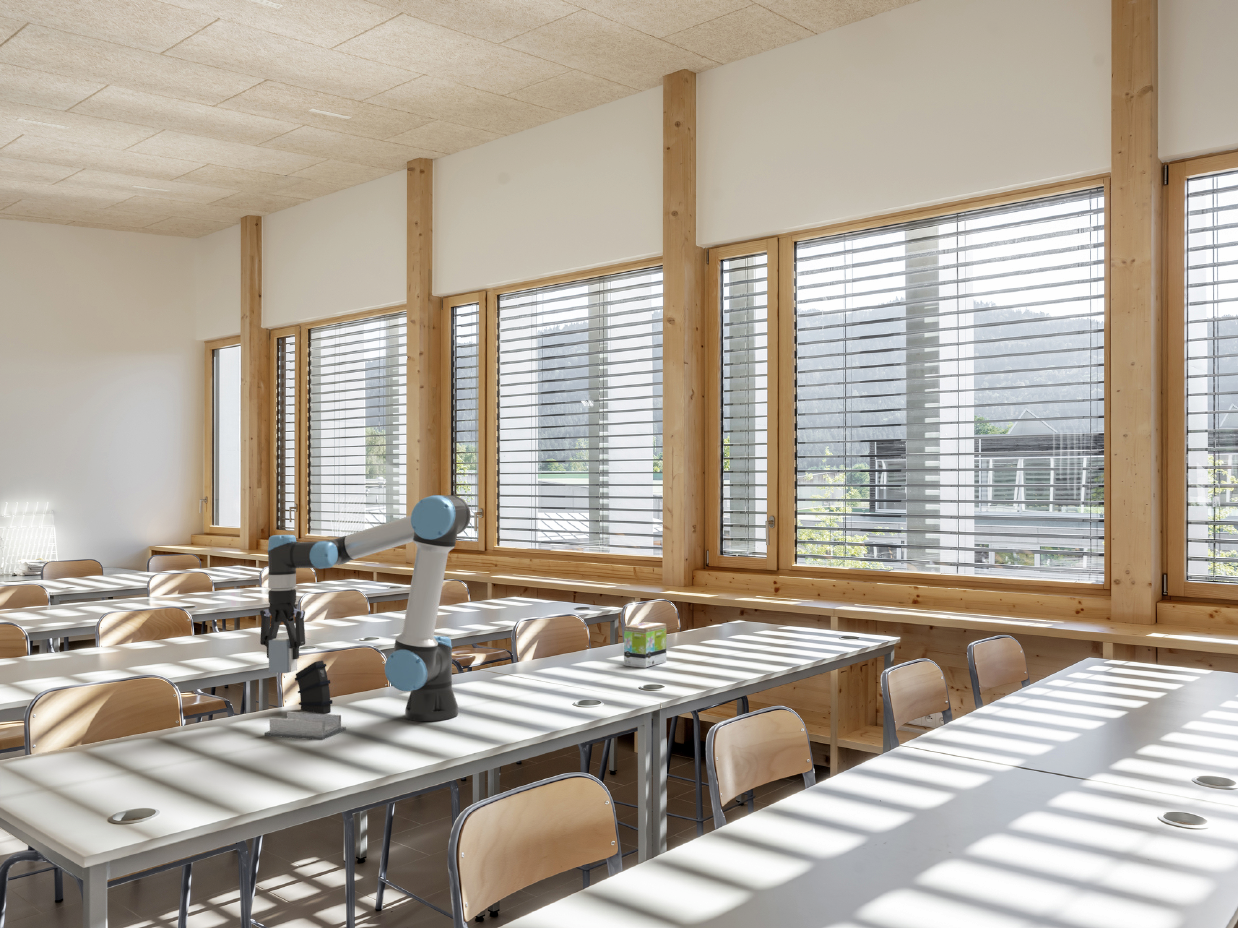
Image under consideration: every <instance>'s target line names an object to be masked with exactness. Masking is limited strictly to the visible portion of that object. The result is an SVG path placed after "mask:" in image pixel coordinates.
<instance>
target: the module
mask: <svg viewBox="0 0 1238 928" xmlns="http://www.w3.org/2000/svg"><path fill="white" fill-rule="evenodd" d="M290 647H291V644H290V640H289V637H276V638H275V639H273V640H269V658H268V672H269V673H275V674H276V673H277V674H288V673H289V674H290V672H289V648H290ZM295 671H297V670H295ZM295 671H292V672H291V673H293V672H295Z"/></svg>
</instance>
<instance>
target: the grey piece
mask: <svg viewBox="0 0 1238 928" xmlns="http://www.w3.org/2000/svg"><path fill="white" fill-rule="evenodd" d="M346 730H347V727H346V726H342V715H341V714H332V713H326V714H319V713H314V712H300V711H299V712H298V711H287V712H286V718H280V717H278V718H277V717H270V718H269V731H265V732H264V735H266V736H265V737H275V736H282V737H281V738H289V737H292V738H291V739H302V738H309V739H308V740H315V741H316V740H317V741H323V740H325V738H326V739H328V738H330V737H333V736H335V735H338V734H340V733H341V732H344V731H346Z"/></svg>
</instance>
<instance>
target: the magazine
mask: <svg viewBox="0 0 1238 928" xmlns="http://www.w3.org/2000/svg"><path fill="white" fill-rule="evenodd" d="M326 667H327V663H324V660H319V661H318V660H317V661H314V662H312V663H311V664H309V665H308V666H306V667H304V668H303V669H301V670H299V671H298V672H296V673H295V676H296V677H295V678H294V681H295V682H297V684H298V688H299V689H298V691H297V694H299V695H300V696H299V698H300V702H298V705H299V706H300V710H301V711H304V710H305V711H306V712H308V713H317V714H331V712H332V709H331V706H332V704H333V700H332V699H331V691H330V685H329V684H331V680H330V679H328V678H329V677H328V674H327V670H326Z"/></svg>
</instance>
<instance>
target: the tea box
mask: <svg viewBox="0 0 1238 928" xmlns="http://www.w3.org/2000/svg"><path fill="white" fill-rule="evenodd" d="M623 630H624V631H623V632H624V634H623V643H624V644H623V666H626V667H633V668H643V669H644V668H645V669H647V667H651V666H655V665H656V666H657V665H658V664H663V663H667V623H663V622H662V623H661V622H649V621H648V622H647V621H644V622H639V623H638V622H637V623H635V624H629V625H624V628H623Z"/></svg>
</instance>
